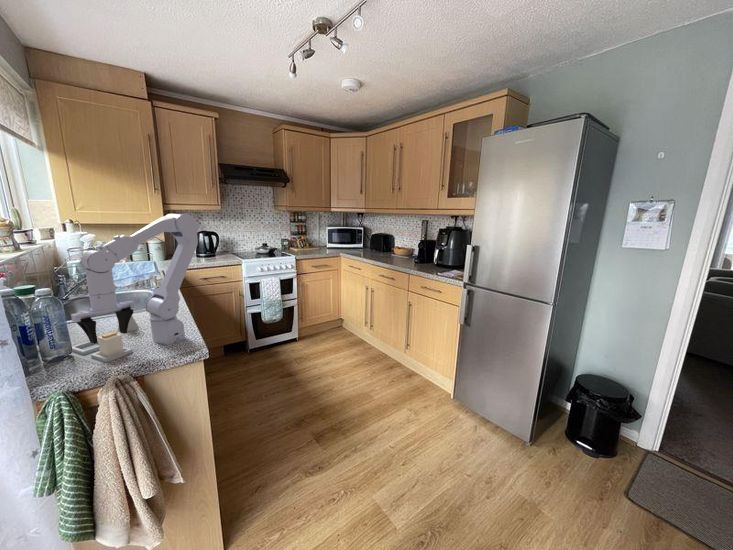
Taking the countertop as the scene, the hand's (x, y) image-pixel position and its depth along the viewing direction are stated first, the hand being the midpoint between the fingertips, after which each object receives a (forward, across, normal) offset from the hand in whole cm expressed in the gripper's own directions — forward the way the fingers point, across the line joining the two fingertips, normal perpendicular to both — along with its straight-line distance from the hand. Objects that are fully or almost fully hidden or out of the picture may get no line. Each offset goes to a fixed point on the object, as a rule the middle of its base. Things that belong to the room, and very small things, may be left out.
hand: (109, 337), depth 89 cm
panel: (+7, 0, -6) cm, 9 cm away
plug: (+6, 0, 0) cm, 6 cm away
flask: (+7, -15, -18) cm, 24 cm away
